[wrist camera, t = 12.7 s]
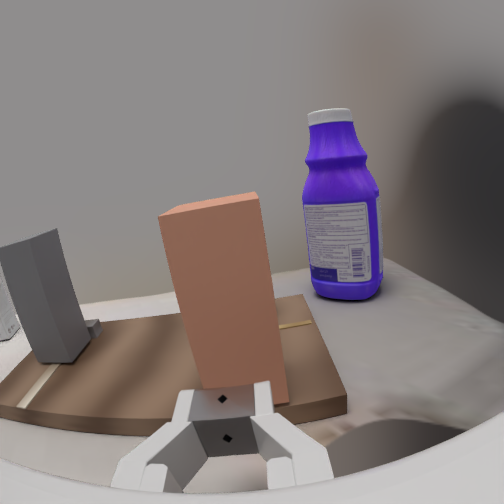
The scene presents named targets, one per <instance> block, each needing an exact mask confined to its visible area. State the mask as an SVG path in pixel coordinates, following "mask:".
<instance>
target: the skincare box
mask: <svg viewBox="0 0 504 504" xmlns="http://www.w3.org/2000/svg"><path fill="white" fill-rule="evenodd" d="M19 328H20V326H19V323H18V321H17V318H16V316H15V313H14V311H13V308H12V306H11V303H10V301H9V298H8V295H7V293H6V290H5V287H4V284H3V281H2V279H1V275H0V341H1V340H6V339H10V338H11V337H12V336H13V335H14V334H15V333H16V332H17V330H18V329H19Z"/></svg>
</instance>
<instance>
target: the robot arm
mask: <svg viewBox="0 0 504 504" xmlns="http://www.w3.org/2000/svg"><path fill="white" fill-rule="evenodd" d="M257 453H259V454H260V455H261V456H262V457H263V459H264V460H265V461H266V462H267V481H268V490H258V491H247V492H232V493H184V492H183V491H182V490H183V489H184V488H185V487H186V485H187V484H188V483H189V482H190V481H191V479H192V478H193V477H194V476H195V474H196V473H197V472H198V471H199V469H200V468H201V467H202V466H203V464H204V463H205V462H206V461H207V459H208V457H220V456H231V455H245V454H257ZM0 504H504V411H503V412H501V413H500V414H498V415H496V416H494V417H493V418H491V419H489V420H487V421H485V422H484V423H482V424H480V425H478V426H476V427H474V428H472V429H470V430H468V431H466V432H464V433H462V434H460V435H458V436H456V437H454V438H452V439H450V440H447V441H445V442H443V443H441V444H439V445H436V446H434V447H431V448H429V449H426V450H424V451H421V452H419V453H416V454H413V455H411V456H408V457H406V458H403V459H400V460H397V461H394V462H391V463H388V464H385V465H382V466H378V467H375V468H372V469H368V470H365V471H361V472H357V473H354V474H350V475H346V476H342V477H337V478H334V476H333V472H332V468H331V465H330V461H329V458H328V453H327V450H326V448H325V447H323V446H322V445H321V444H319V443H318V442H316V441H315V440H314V439H312V438H311V437H310V436H308V435H307V434H305V433H304V432H303V431H301V430H300V429H299V428H297V427H296V426H295V425H293V424H292V423H291V422H290V421H288V420H287V419H286V418H284V417H283V416H282V415H280V414H279V413H275V408H274V402H273V396H272V390H271V384H270V381H264V382H258V383H254V384H247V385H239V386H231V387H220V388H206V389H195V390H194V389H193V390H181V391H180V392H179V394H178V398H177V402H176V405H175V409H174V413H173V417H172V421H171V422H167V423H166V424H164V425H163V426H162V427H161V428H160V429H158V430H157V431H156V432H155V433H153V434H152V435H151V436H150V437H148V438H147V439H146V440H145V441H143V442H142V443H141V444H140V445H138V446H137V447H136V448H134V449H133V450H132V451H131V452H129V453H128V454H127V455H125V456H124V457H123V458H122V459H120V460H119V462H118V465H117V468H116V471H115V473H114V476H113V479H112V482H111V484H110V487H109V486H103V485H97V484H91V483H86V482H81V481H77V480H72V479H68V478H63V477H59V476H56V475H52V474H48V473H44V472H41V471H38V470H34V469H31V468H28V467H25V466H22V465H19V464H16V463H13V462H10V461H7V460H5V459H2V458H0Z"/></svg>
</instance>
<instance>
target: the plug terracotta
mask: <svg viewBox="0 0 504 504" xmlns="http://www.w3.org/2000/svg"><path fill="white" fill-rule="evenodd" d="M158 220H159V225H160V229H161V234H162V239H163V243H164V248H165V252H166V256H167V260H168V264H169V269H170V273H171V277H172V281H173V285H174V289H175V293H176V297H177V300H178V304H179V308H180V312H181V315H182V319H183V323H184V326H185V330H186V333H187V337H188V340H189V343H190V347H191V350H192V353H193V357H194V360H195V363H196V367H197V370H198V373H199V376H200V379H201V382H202V385H203V388H204V389H206V388H220V387H231V386H239V385H247V384H254V383H258V382H264V381H270V384H271V390H272V396H273V402H274V404H280V403H286V402H289V395H288V388H287V380H286V373H285V366H284V359H283V352H282V345H281V339H280V332H279V325H278V318H277V311H276V305H275V298H274V291H273V285H272V278H271V272H270V266H269V259H268V253H267V247H266V240H265V233H264V227H263V221H262V215H261V208H260V203H259V198H258V196H257V194H256V192H250V193H244V194H238V195H233V196H227V197H221V198H216V199H210V200H205V201H199V202H194V203H189V204H184V205H179V206H177V207H175V208H173V209H171V210H169V211H167V212H166V213H164V214H162V215H160V216H158Z"/></svg>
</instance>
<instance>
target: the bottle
mask: <svg viewBox="0 0 504 504" xmlns="http://www.w3.org/2000/svg"><path fill="white" fill-rule="evenodd" d="M308 122H309V129H310V147H309V152H308V154H307V157H306V159H305V162H306V164H307V165H308V167H309V170H310V171H309V175H308V178H307V180H306V183H305V186H304V190H303V195H302V200H303V209H304V216H305V225H306V234H307V242H308V251H309V261H310V271H311V281H312V284H313V287H314V289H315V291H316V292H317V293H318V294H319V295H321V296H324V297H328V298H334V299H344V300H362V299H367V298H369V297H371V296H372V295H374V294H375V293H376V291H377V289H378V287H379V285H380V283H381V280H382V278H383V241H382V223H381V207H380V197H379V189H378V187H377V185H376V183H375V180H374V179H373V177H372V175H371V174H370V172H369V171H368V169H367V167H366V164H365V163H366V159H367V154H366V152H365V151H364V150H363V148H362V147H361V145H360V143H359V141H358V139H357V136H356V133H355V129H354V125H353V119H352V115H351V111H350V110H349V109H344V108H337V109H326V110H320V111H315V112H312V113H309V114H308Z"/></svg>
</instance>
